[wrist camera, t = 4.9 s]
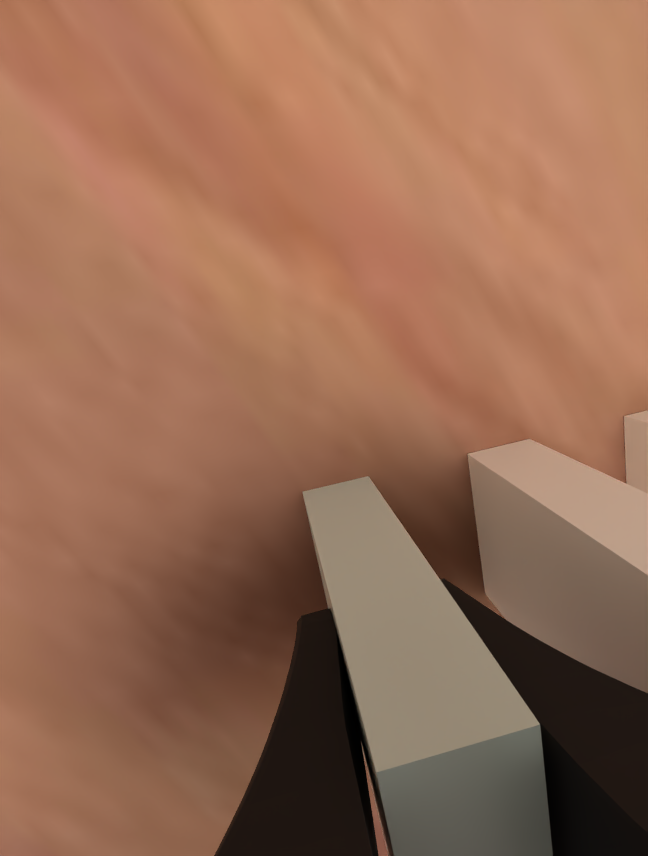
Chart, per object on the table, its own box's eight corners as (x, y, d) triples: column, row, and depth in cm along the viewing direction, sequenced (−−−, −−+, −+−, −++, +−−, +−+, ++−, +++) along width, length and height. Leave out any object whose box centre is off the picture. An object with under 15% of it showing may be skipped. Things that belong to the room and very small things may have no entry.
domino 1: (333, 632, 14) (433, 1039, 6) (301, 491, 13) (376, 772, 5) (394, 616, 14) (566, 993, 6) (368, 475, 13) (539, 724, 5)
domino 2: (485, 593, 14) (759, 931, 6) (467, 453, 13) (774, 660, 5) (542, 578, 14) (878, 890, 7) (529, 438, 13) (916, 618, 5)
